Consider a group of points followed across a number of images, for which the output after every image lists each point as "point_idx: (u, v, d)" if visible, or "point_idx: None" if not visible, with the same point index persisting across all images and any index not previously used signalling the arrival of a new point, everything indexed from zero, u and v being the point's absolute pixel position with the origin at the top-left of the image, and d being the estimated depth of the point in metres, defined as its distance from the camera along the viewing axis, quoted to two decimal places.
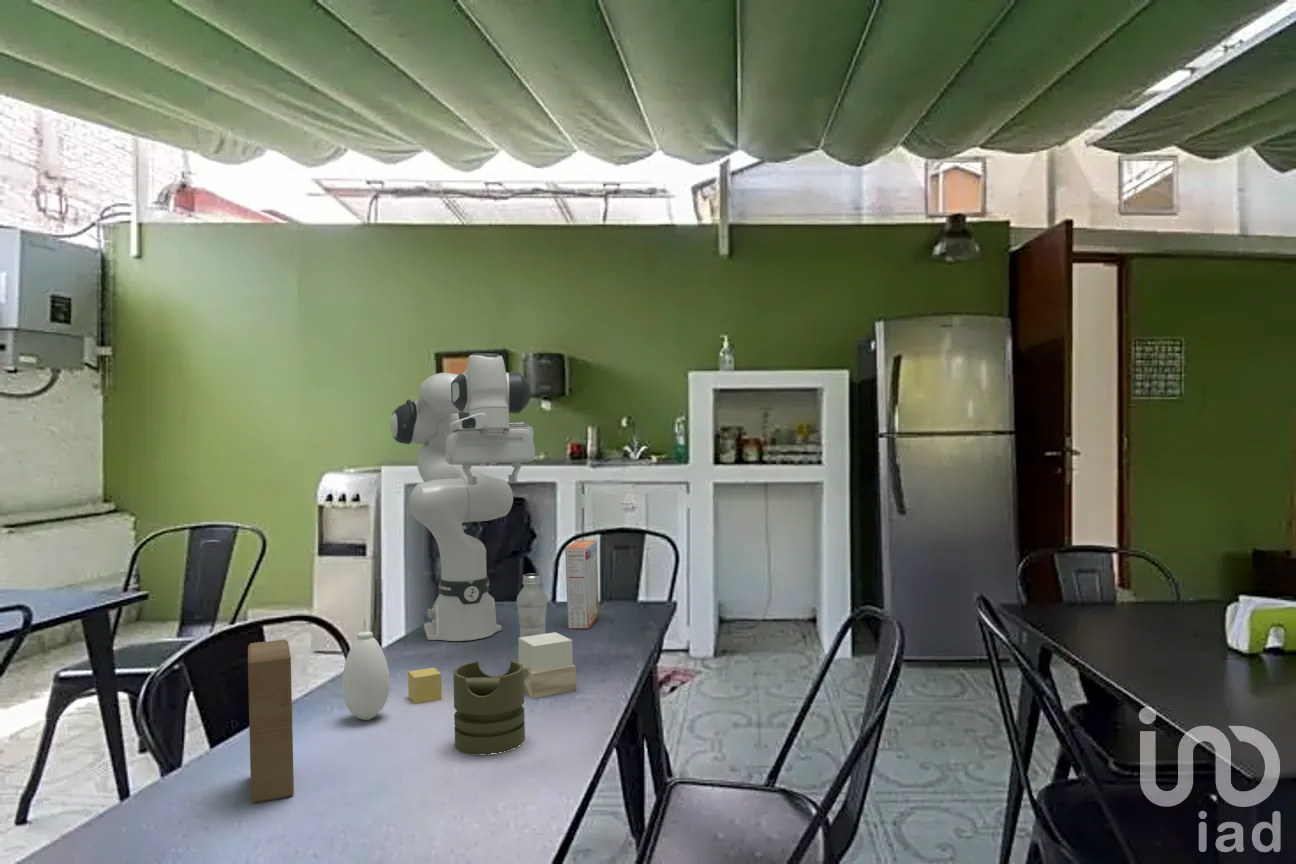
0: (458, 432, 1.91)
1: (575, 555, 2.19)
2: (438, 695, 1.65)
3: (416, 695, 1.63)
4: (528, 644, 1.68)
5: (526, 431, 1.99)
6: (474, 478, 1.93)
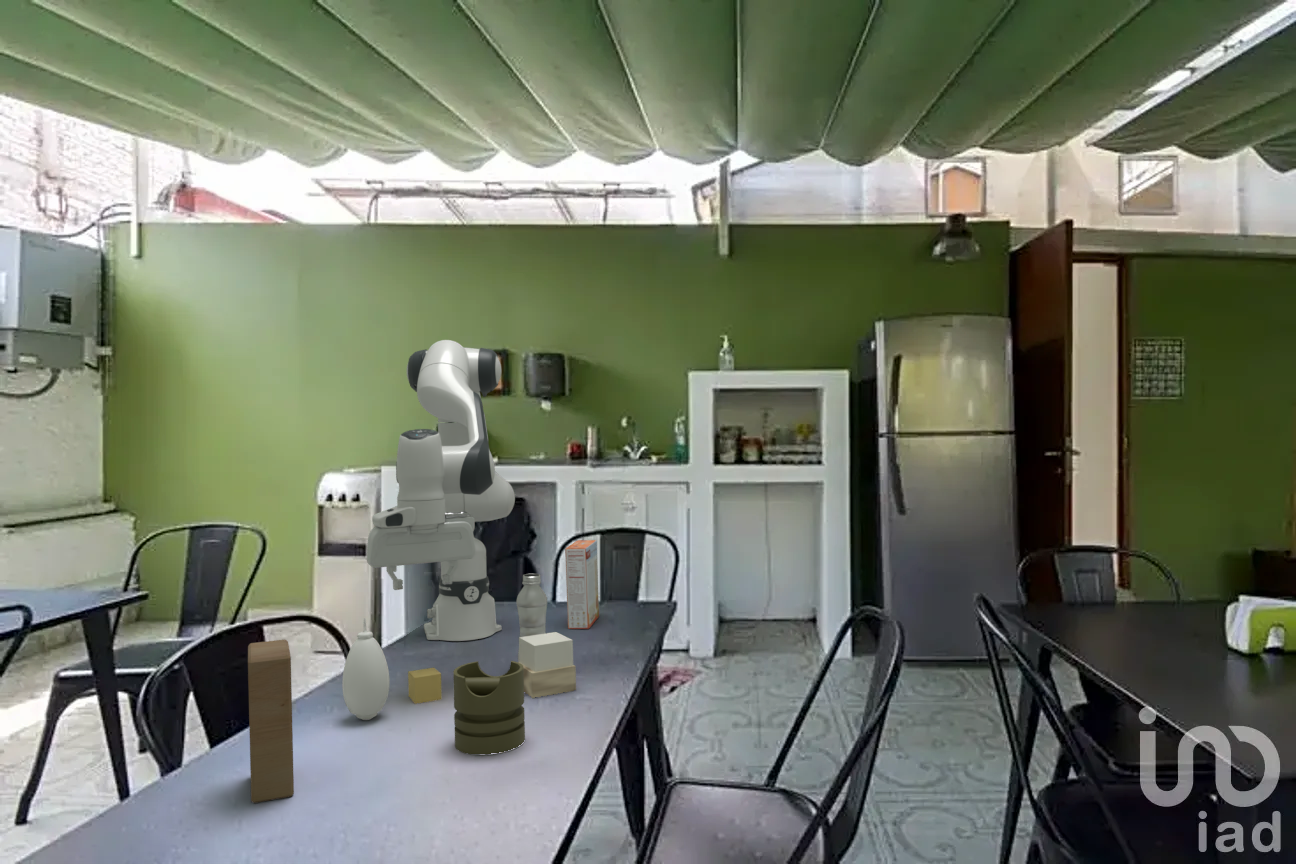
0: (381, 530, 1.60)
1: (575, 555, 2.19)
2: (438, 695, 1.65)
3: (416, 695, 1.63)
4: (529, 644, 1.68)
5: (465, 524, 1.68)
6: (400, 582, 1.63)
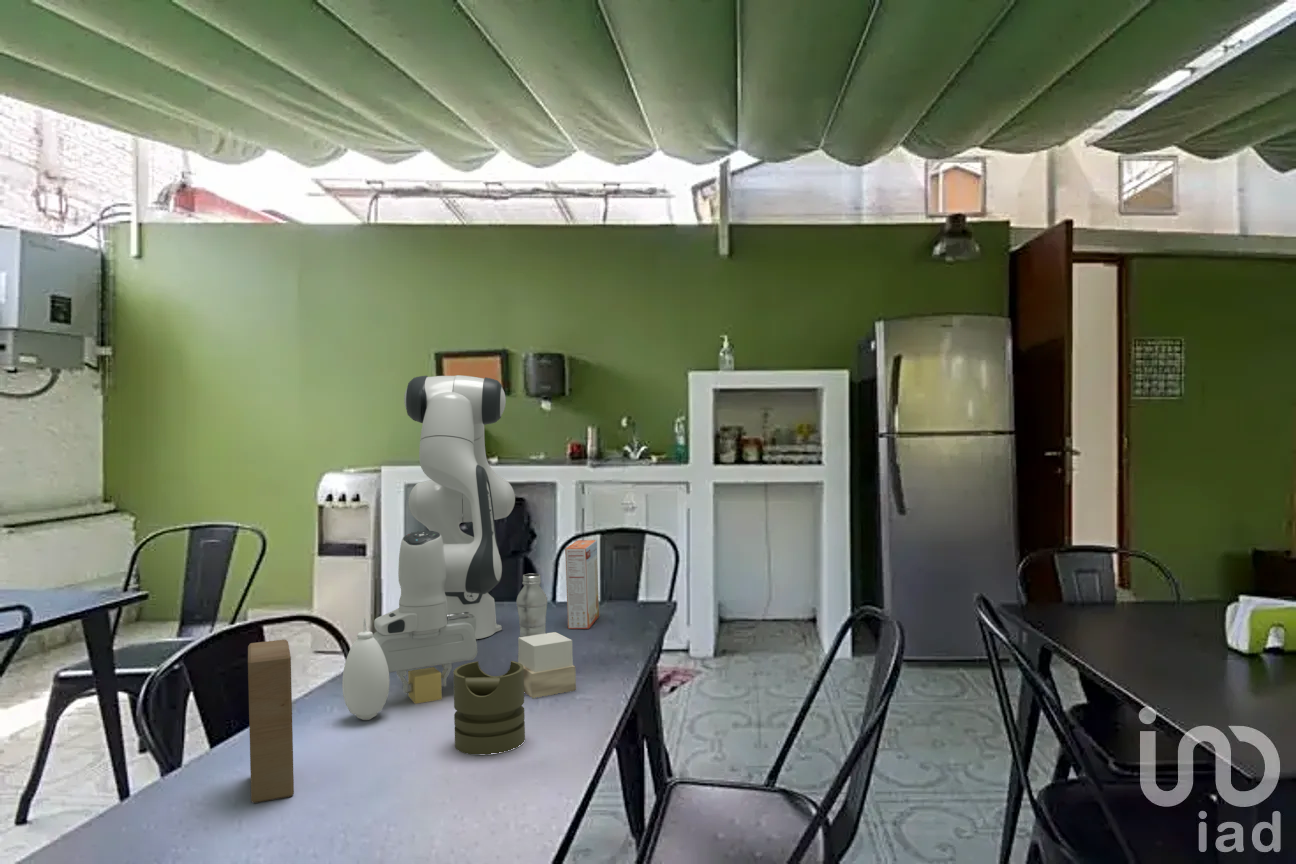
0: (383, 637, 1.60)
1: (575, 555, 2.19)
2: (438, 694, 1.65)
3: (416, 694, 1.63)
4: (528, 644, 1.68)
5: (467, 625, 1.69)
6: (410, 686, 1.64)
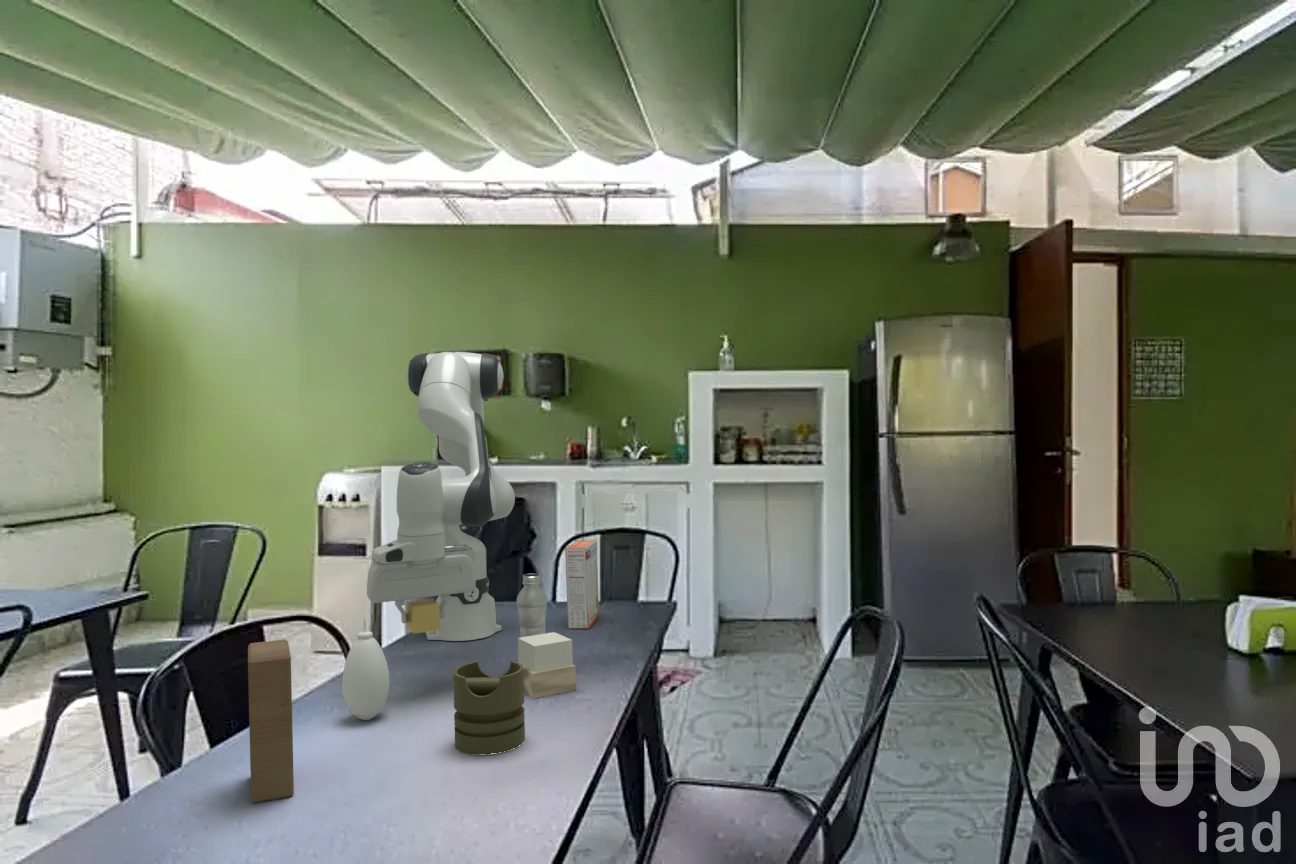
0: (381, 566, 1.60)
1: (575, 555, 2.19)
2: (436, 625, 1.65)
3: (414, 624, 1.63)
4: (528, 644, 1.68)
5: (465, 557, 1.69)
6: (408, 616, 1.64)
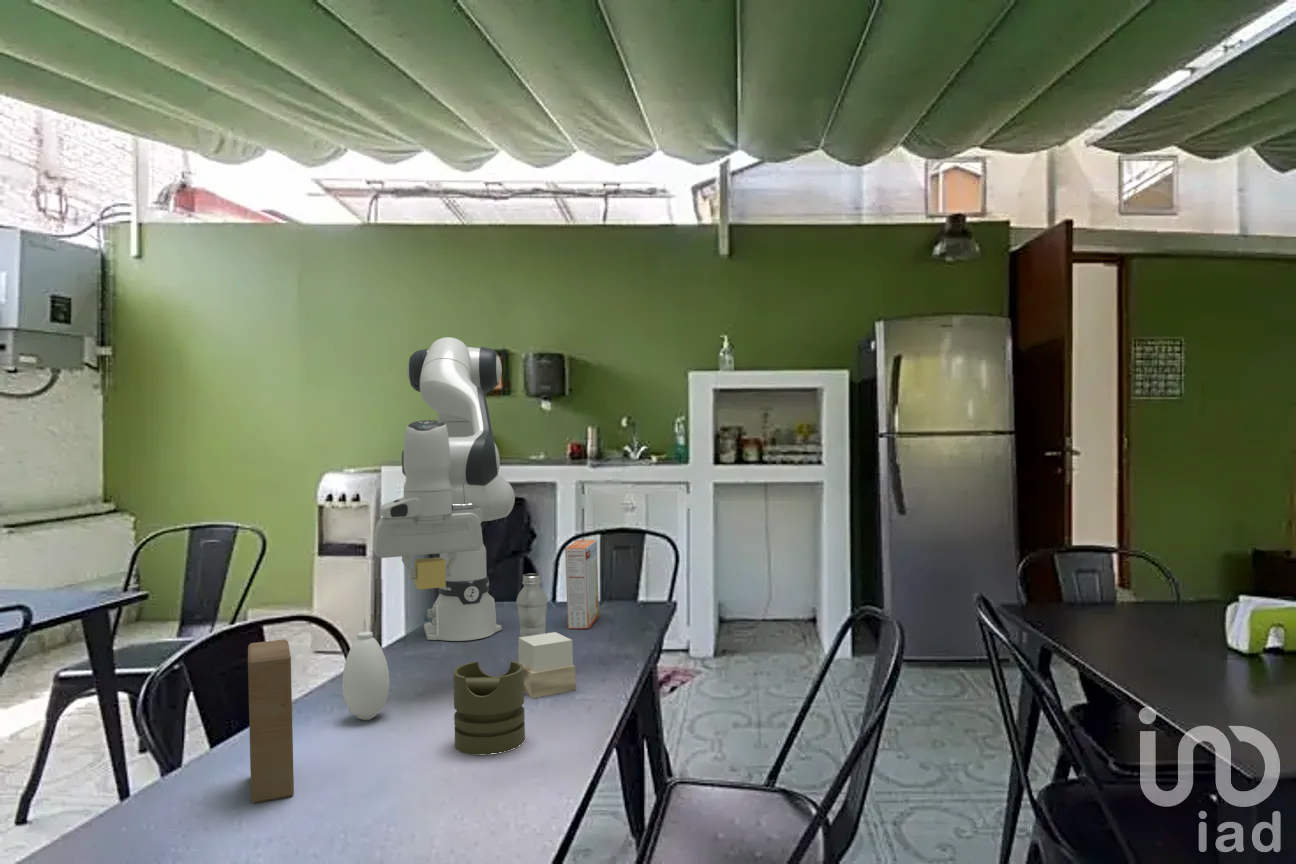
0: (386, 521, 1.61)
1: (575, 555, 2.19)
2: (442, 582, 1.65)
3: (420, 580, 1.63)
4: (528, 644, 1.68)
5: (472, 515, 1.68)
6: (414, 572, 1.64)
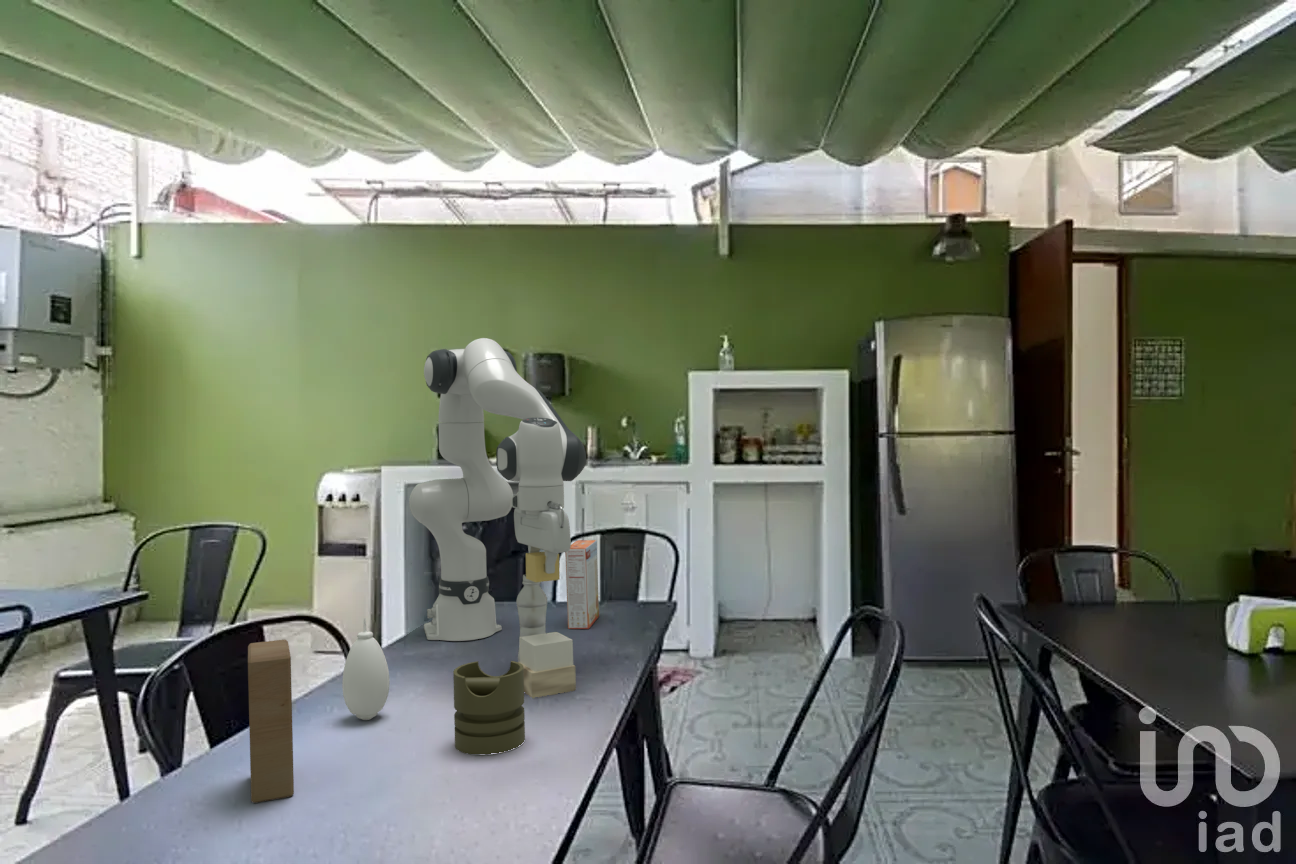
0: (515, 509, 1.76)
1: (575, 555, 2.19)
2: (534, 577, 1.68)
3: (526, 570, 1.71)
4: (528, 644, 1.68)
5: (549, 516, 1.63)
6: None
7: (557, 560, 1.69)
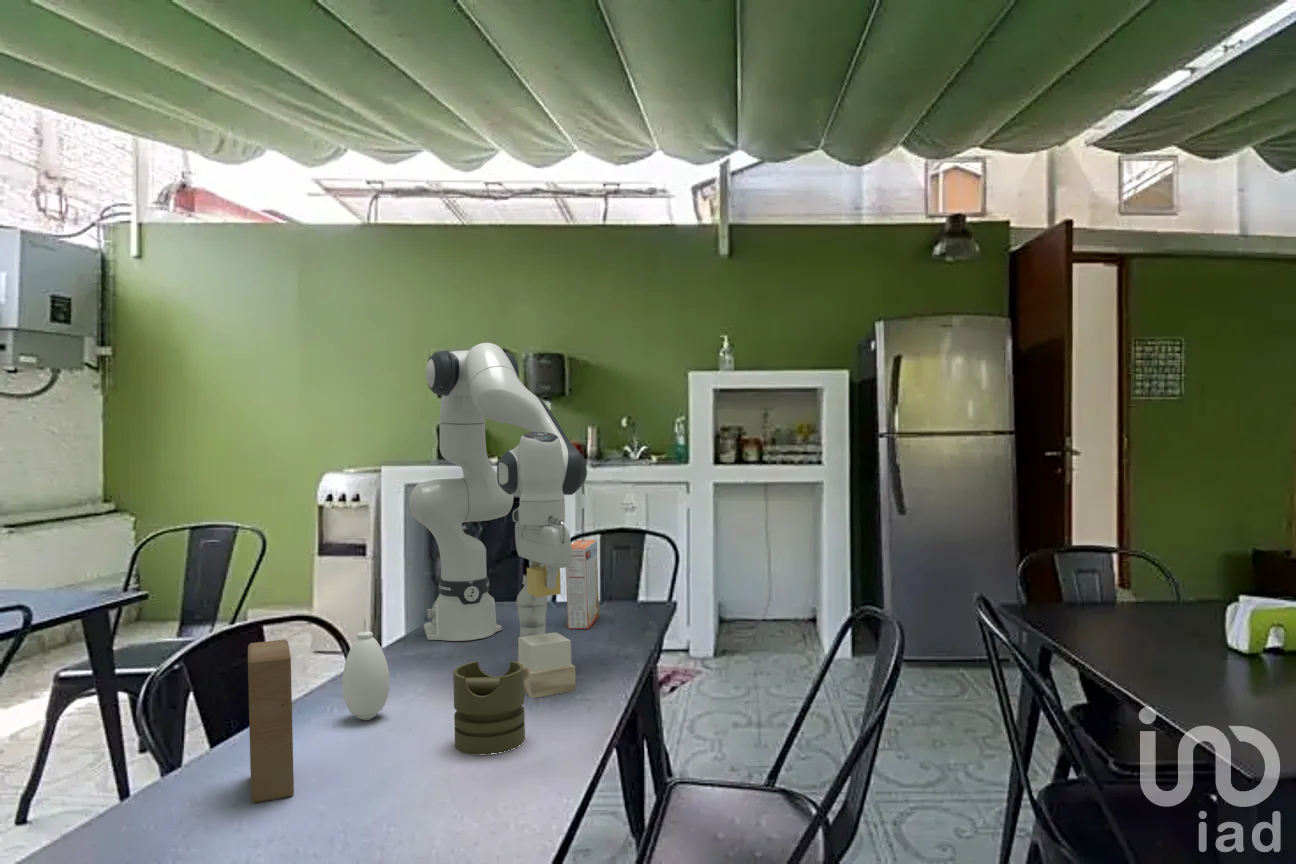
0: (516, 523, 1.76)
1: (575, 555, 2.19)
2: (535, 591, 1.68)
3: (527, 584, 1.71)
4: (527, 644, 1.68)
5: (550, 531, 1.63)
6: None
7: (558, 575, 1.69)
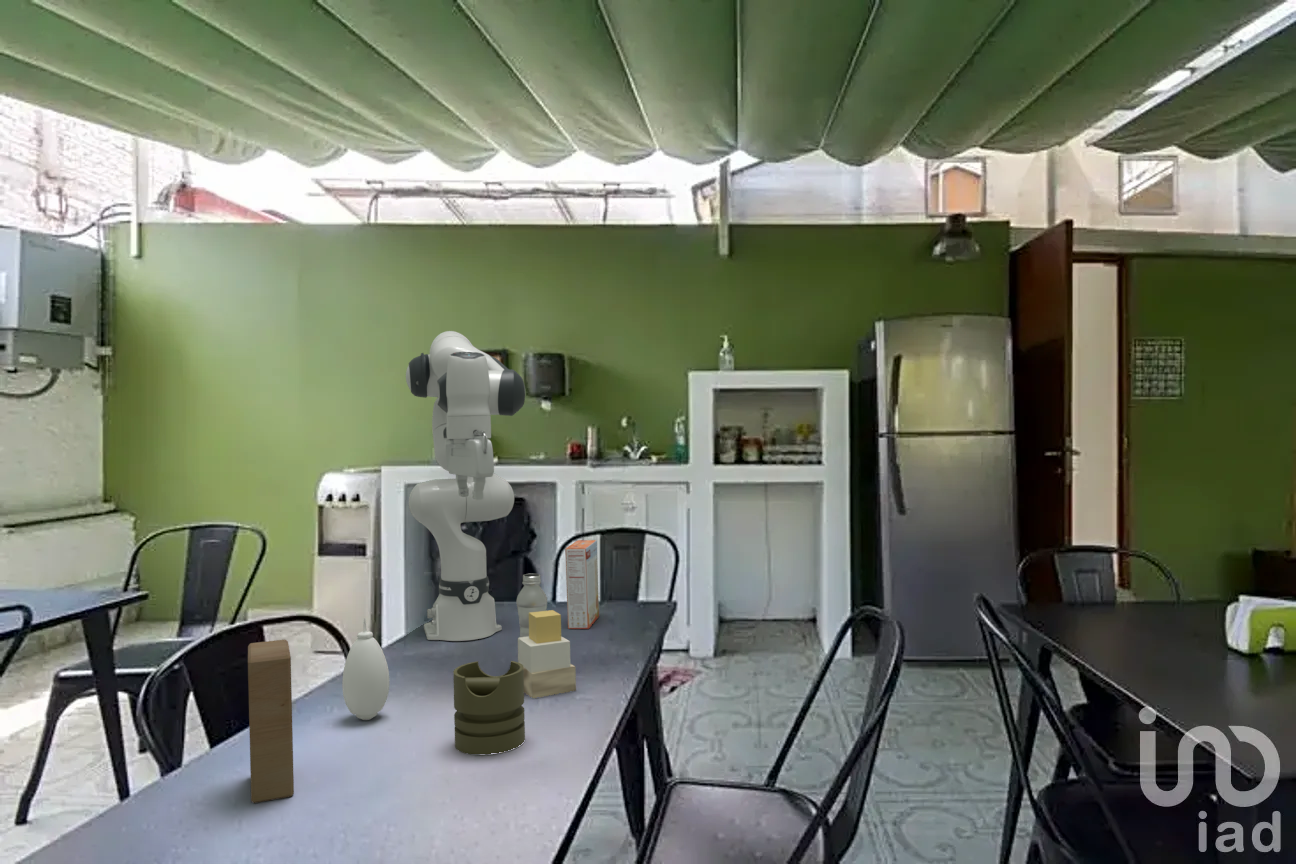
0: (446, 441, 1.84)
1: (575, 555, 2.19)
2: (535, 638, 1.68)
3: (529, 629, 1.72)
4: (526, 644, 1.68)
5: (473, 442, 1.70)
6: (459, 490, 1.81)
7: (559, 621, 1.69)
